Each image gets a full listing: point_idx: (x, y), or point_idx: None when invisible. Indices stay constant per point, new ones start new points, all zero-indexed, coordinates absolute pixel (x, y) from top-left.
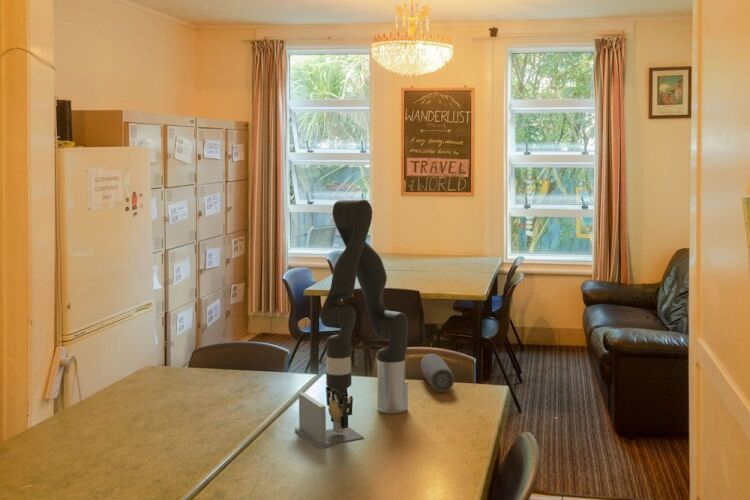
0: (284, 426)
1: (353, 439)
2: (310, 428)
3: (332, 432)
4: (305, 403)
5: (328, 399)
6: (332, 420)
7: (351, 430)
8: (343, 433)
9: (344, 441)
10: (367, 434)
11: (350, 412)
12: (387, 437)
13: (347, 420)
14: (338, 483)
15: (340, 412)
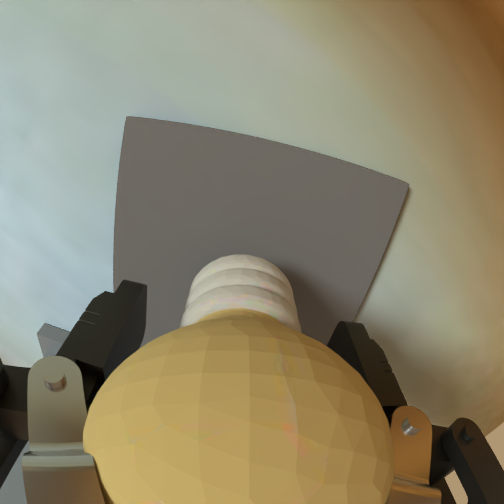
0: (3, 353)
1: (378, 260)
2: None
3: (174, 286)
4: None
5: (6, 474)
6: (142, 337)
7: (230, 151)
8: (243, 243)
9: (353, 315)
10: (365, 100)
11: (471, 450)
12: (479, 70)
13: (394, 385)
14: (479, 428)
15: None
